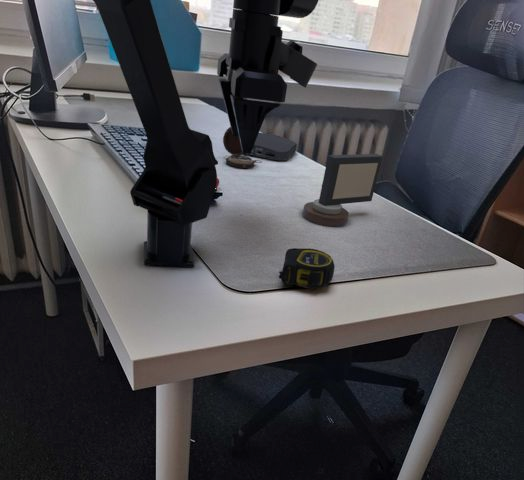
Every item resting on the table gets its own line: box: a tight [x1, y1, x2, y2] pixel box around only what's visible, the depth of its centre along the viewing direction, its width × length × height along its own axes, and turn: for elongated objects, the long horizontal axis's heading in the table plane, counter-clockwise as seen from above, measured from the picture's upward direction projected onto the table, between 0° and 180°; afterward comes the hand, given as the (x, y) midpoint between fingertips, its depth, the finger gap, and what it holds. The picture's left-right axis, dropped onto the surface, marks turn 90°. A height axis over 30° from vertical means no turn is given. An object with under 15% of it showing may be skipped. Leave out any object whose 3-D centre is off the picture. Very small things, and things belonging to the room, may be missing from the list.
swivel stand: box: [302, 201, 350, 228], centre depth 90 cm, size 8×8×2 cm
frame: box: [312, 153, 384, 215], centre depth 89 cm, size 12×5×9 cm, turn 124°
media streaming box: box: [244, 132, 298, 161], centre depth 123 cm, size 15×15×3 cm
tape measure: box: [278, 247, 336, 290], centre depth 67 cm, size 7×7×4 cm
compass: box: [222, 126, 263, 169], centre depth 110 cm, size 8×8×7 cm
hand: (241, 144), depth 72 cm, fingers open, 9 cm apart
